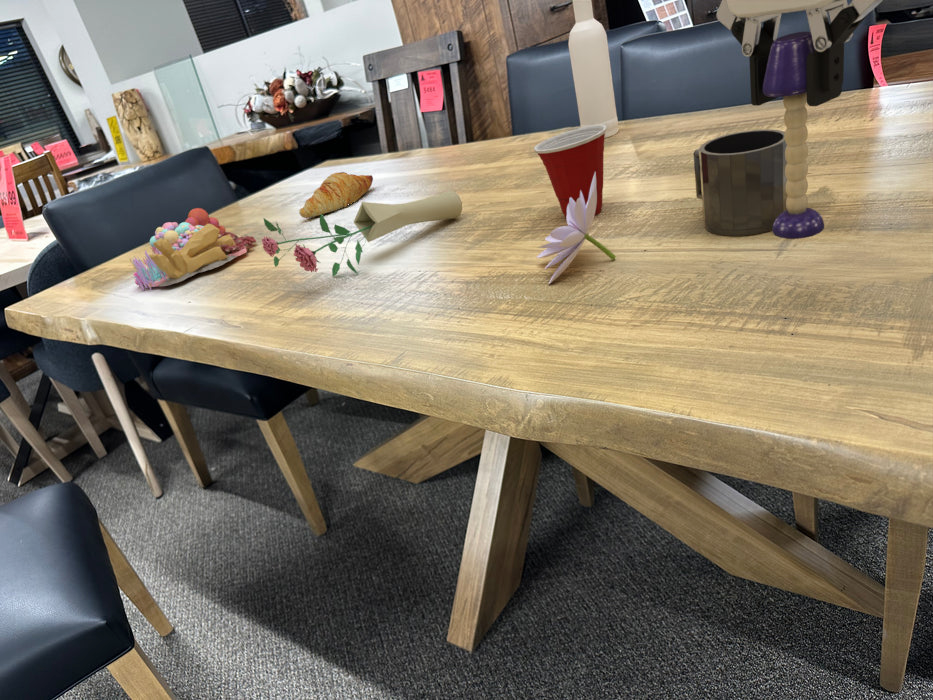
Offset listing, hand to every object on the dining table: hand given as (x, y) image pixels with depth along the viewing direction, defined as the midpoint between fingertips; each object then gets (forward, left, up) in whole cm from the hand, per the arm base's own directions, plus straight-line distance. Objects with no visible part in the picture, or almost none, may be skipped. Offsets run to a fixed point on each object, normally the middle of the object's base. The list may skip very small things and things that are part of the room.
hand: (794, 98), depth 53 cm
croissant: (+16, -103, -19) cm, 106 cm away
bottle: (-39, -80, -19) cm, 91 cm away
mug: (-14, -20, -19) cm, 30 cm away
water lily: (+6, -27, -19) cm, 34 cm away
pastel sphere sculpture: (+49, -97, -19) cm, 111 cm away
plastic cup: (-6, -42, -19) cm, 46 cm away
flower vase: (+22, -58, -19) cm, 65 cm away
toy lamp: (0, 0, -12) cm, 12 cm away
